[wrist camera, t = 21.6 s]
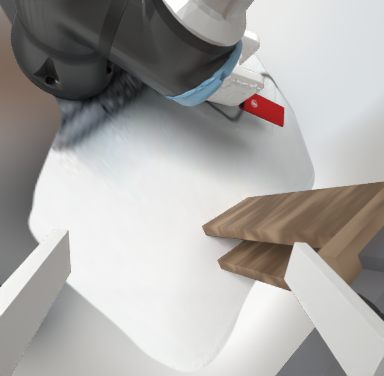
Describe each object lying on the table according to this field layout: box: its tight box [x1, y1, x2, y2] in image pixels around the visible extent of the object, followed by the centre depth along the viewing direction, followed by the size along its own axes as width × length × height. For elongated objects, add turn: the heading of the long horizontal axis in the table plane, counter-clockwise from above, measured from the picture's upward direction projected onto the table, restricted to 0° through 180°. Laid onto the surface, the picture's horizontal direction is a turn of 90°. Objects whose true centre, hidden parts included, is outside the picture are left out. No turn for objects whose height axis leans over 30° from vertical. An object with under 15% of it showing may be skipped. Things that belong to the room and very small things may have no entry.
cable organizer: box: [207, 29, 264, 106], centre depth 49 cm, size 15×11×12 cm
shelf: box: [202, 182, 384, 291], centre depth 39 cm, size 10×20×30 cm, turn 117°
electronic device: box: [239, 93, 284, 127], centre depth 62 cm, size 6×1×15 cm
